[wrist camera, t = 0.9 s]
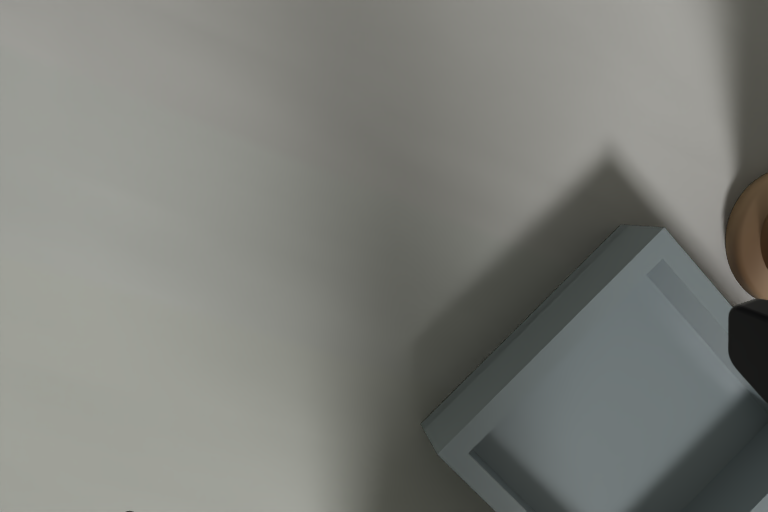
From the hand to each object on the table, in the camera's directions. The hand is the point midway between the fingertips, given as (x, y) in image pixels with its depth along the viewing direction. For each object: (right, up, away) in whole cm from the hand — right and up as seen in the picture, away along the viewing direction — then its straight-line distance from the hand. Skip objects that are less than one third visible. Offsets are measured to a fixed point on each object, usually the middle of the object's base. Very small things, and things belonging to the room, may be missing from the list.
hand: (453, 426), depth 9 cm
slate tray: (+9, -4, +17) cm, 20 cm away
